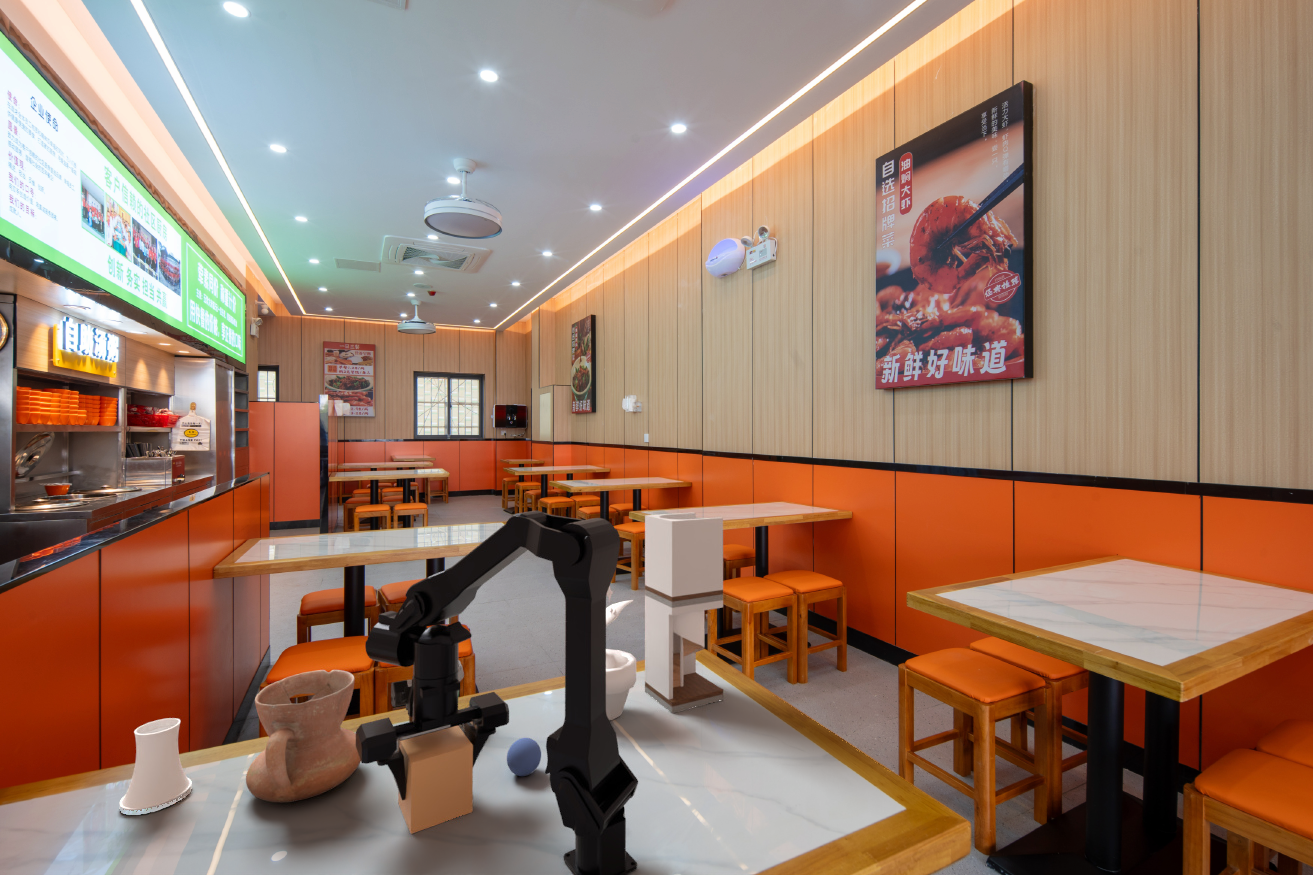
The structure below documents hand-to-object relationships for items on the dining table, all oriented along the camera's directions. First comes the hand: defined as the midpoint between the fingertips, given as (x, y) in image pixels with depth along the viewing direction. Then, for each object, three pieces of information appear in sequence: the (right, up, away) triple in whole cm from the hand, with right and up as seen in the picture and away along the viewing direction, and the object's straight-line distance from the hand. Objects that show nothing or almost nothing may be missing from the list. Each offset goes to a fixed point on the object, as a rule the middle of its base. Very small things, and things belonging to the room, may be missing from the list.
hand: (435, 788), depth 78 cm
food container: (-7, -3, +23) cm, 24 cm away
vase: (-39, -3, +2) cm, 39 cm away
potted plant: (+21, -3, +28) cm, 35 cm away
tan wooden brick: (0, -3, 0) cm, 3 cm away
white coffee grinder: (+35, -4, +35) cm, 50 cm away
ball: (+10, 0, +8) cm, 13 cm away
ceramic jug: (-21, -3, +5) cm, 21 cm away
